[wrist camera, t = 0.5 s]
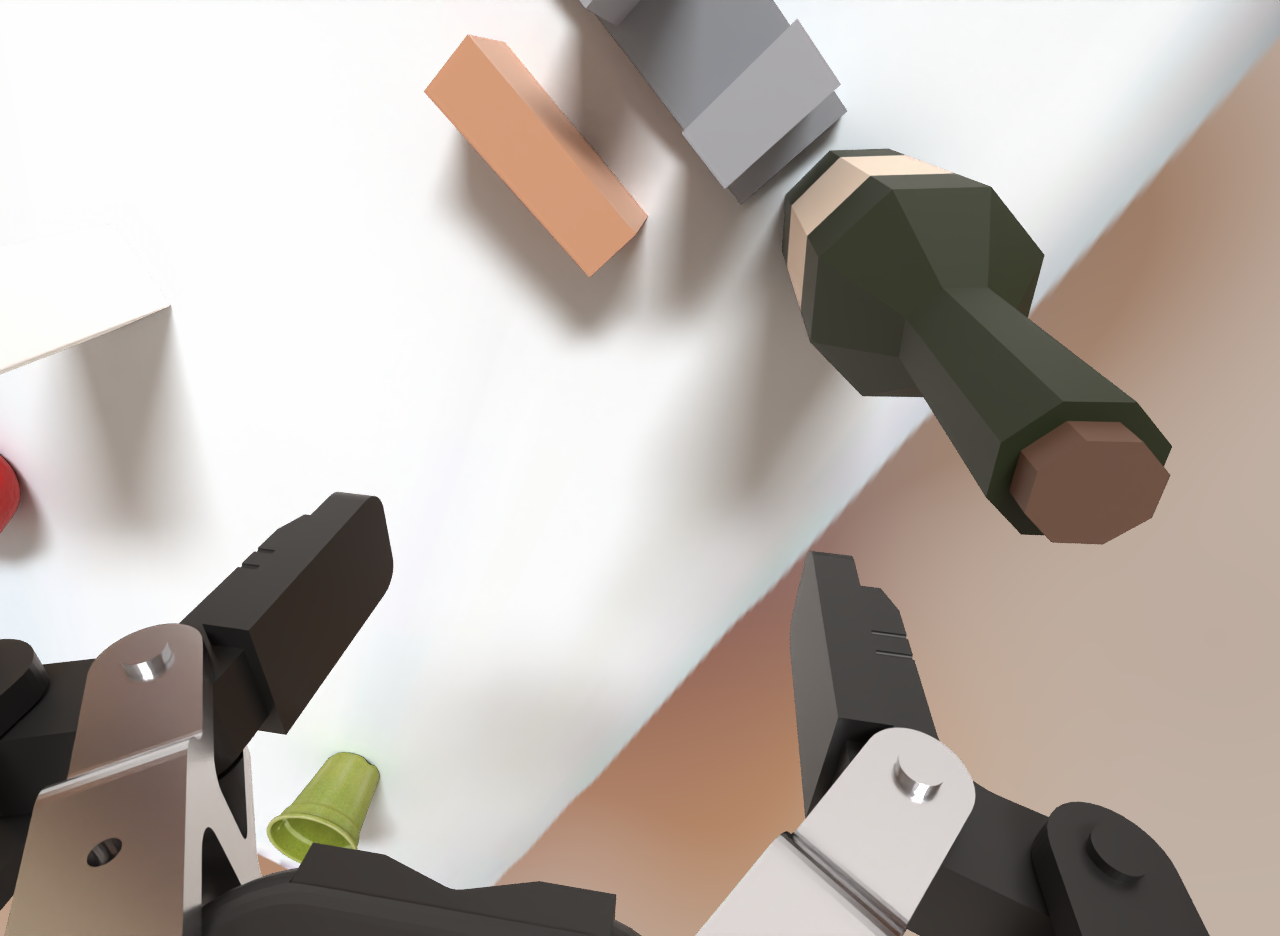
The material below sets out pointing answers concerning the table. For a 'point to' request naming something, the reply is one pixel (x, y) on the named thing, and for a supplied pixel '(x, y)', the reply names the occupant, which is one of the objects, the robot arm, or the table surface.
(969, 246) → the wine bottle
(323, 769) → the plant pot
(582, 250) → the rectangular block
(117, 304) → the milk
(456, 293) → the table surface
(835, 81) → the stand
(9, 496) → the red apple
